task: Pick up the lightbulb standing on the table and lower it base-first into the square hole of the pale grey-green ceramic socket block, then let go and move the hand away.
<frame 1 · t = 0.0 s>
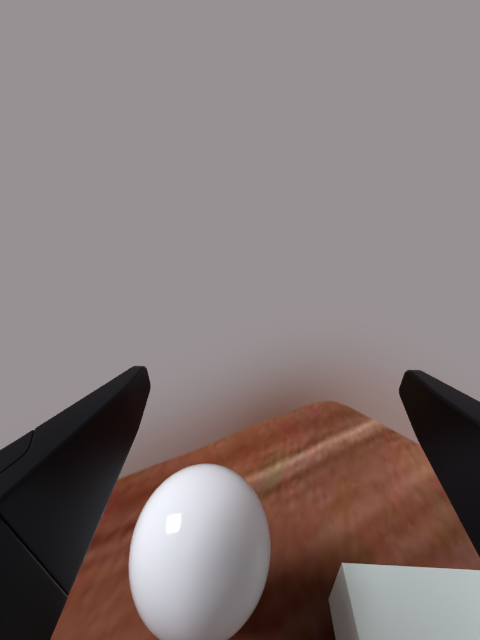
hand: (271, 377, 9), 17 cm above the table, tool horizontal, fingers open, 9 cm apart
lightbulb: (213, 604, 16), on the table
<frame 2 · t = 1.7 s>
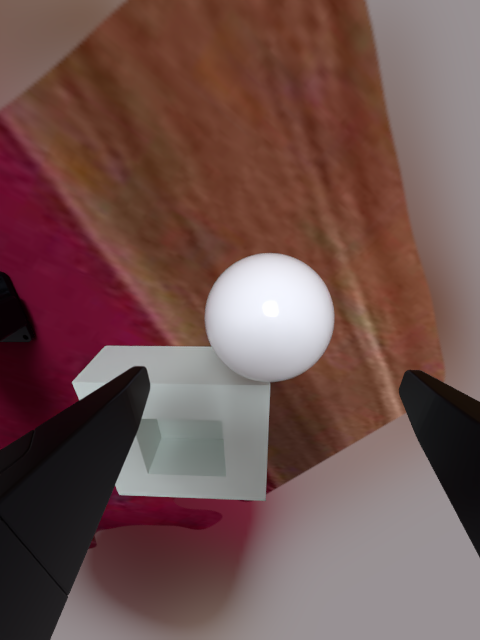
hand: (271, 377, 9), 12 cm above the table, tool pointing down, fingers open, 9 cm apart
lightbulb: (263, 270, 20), on the table
socket block: (193, 406, 27), on the table
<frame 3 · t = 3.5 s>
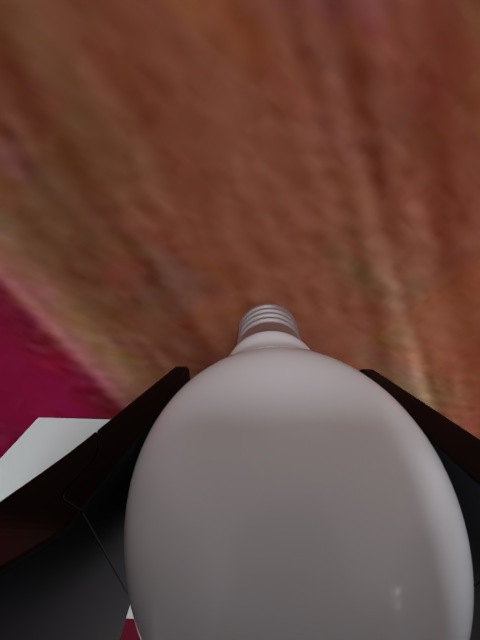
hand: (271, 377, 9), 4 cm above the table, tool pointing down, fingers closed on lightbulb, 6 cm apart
lightbulb: (266, 321, 13), on the table, touching gripper
socket block: (169, 489, 20), on the table
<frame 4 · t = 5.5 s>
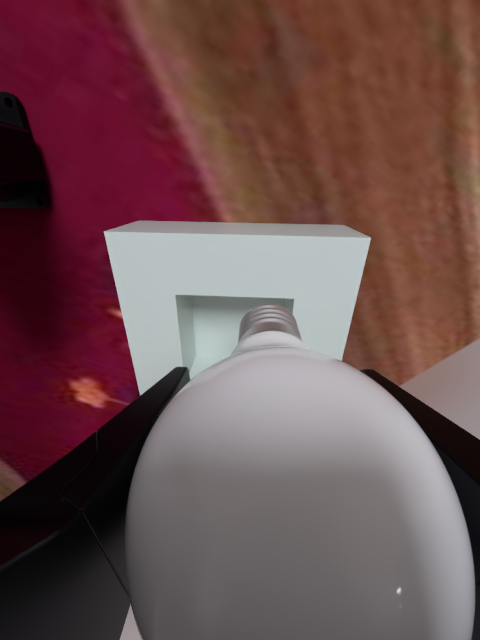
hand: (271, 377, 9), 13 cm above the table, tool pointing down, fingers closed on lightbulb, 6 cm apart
lightbulb: (267, 321, 13), point 9 cm above the table, touching gripper
socket block: (238, 314, 22), on the table
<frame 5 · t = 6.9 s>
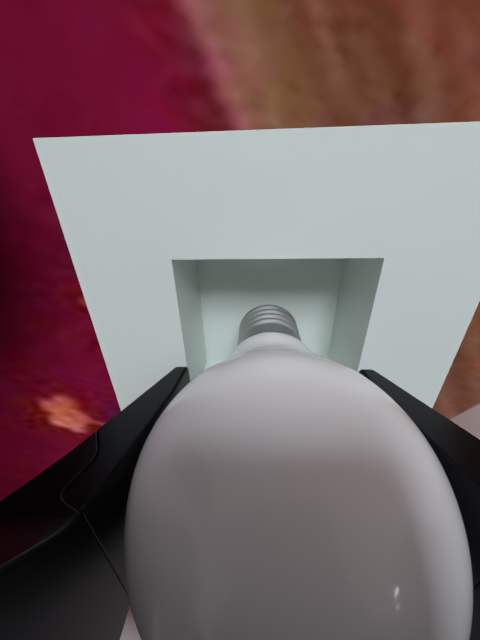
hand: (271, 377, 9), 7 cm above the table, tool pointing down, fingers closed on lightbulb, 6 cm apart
lightbulb: (267, 321, 13), point 3 cm above the table, touching gripper
socket block: (267, 300, 15), on the table
when the fingers open (6 cm above the table, at t = 7.9 s): lightbulb drops 1 cm, resting on socket block.
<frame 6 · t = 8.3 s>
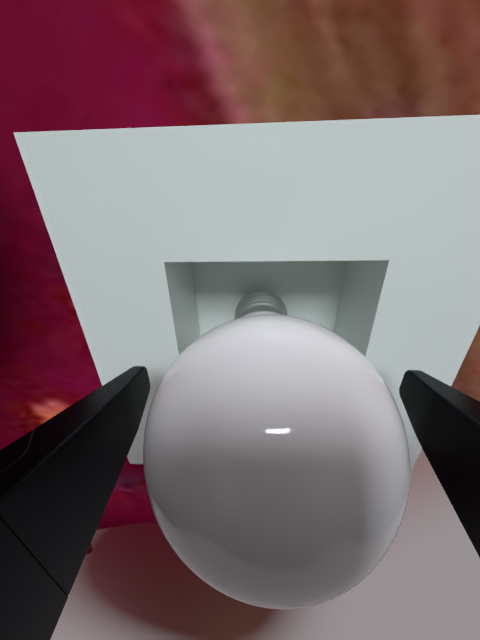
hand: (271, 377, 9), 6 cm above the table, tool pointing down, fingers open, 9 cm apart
lightbulb: (260, 308, 14), point 1 cm above the table, touching socket block
socket block: (265, 302, 15), on the table
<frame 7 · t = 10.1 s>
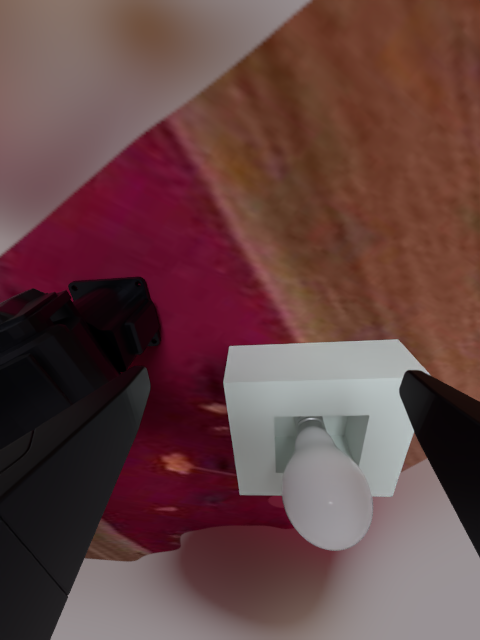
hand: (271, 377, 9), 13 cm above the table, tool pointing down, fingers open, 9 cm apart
lightbulb: (306, 409, 26), point 1 cm above the table, touching socket block
socket block: (308, 403, 27), on the table
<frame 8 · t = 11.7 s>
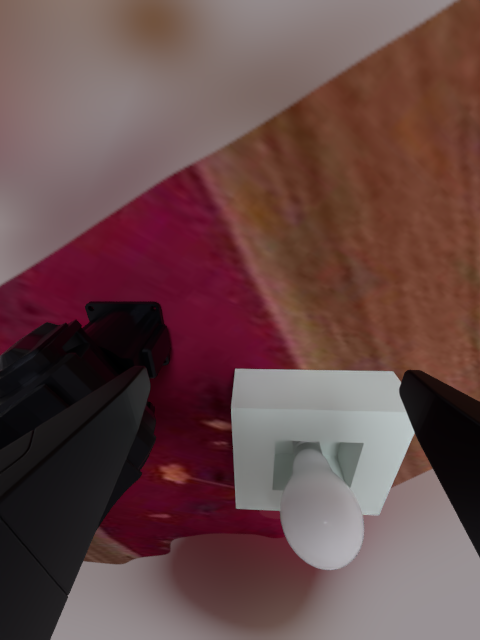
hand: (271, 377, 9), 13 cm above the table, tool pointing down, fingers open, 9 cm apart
lightbulb: (303, 430, 28), point 1 cm above the table, touching socket block
socket block: (305, 424, 28), on the table
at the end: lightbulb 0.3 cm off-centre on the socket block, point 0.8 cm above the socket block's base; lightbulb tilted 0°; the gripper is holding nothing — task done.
